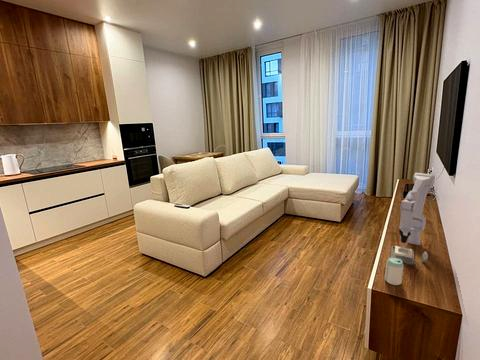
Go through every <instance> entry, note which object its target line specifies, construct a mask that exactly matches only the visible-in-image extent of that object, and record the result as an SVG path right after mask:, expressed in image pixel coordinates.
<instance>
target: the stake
mask: <svg viewBox="0 0 480 360" xmlns="http://www.w3.org/2000/svg"><path fill="white" fill-rule="evenodd" d="M421 256H422V257H421V264H427V263H428V259H429V254H428V251H424V252H423V253H422V255H421Z"/></svg>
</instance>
